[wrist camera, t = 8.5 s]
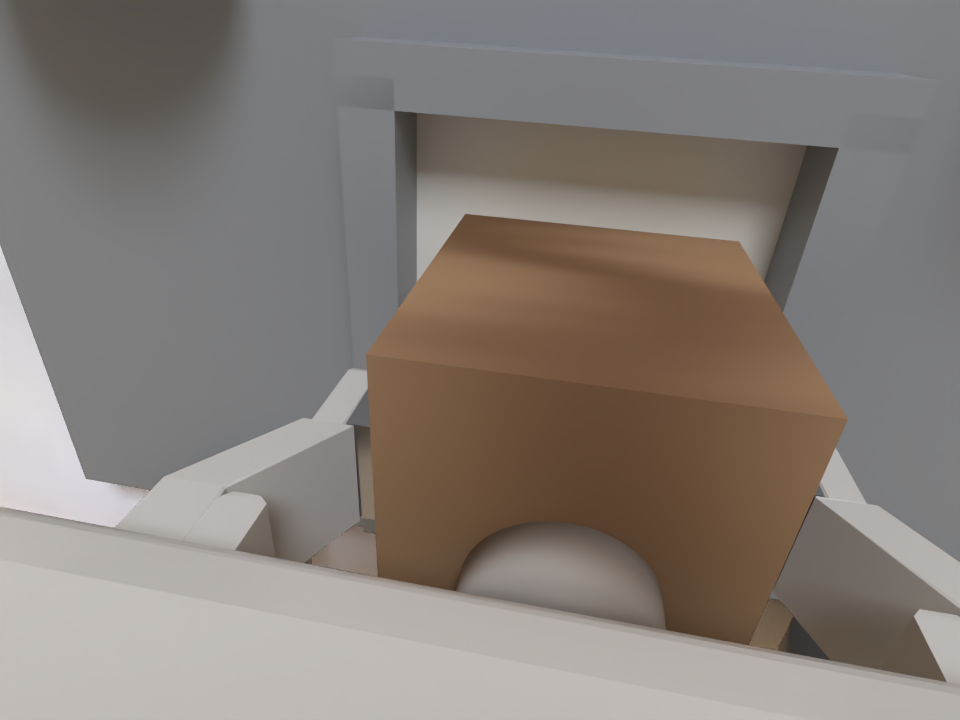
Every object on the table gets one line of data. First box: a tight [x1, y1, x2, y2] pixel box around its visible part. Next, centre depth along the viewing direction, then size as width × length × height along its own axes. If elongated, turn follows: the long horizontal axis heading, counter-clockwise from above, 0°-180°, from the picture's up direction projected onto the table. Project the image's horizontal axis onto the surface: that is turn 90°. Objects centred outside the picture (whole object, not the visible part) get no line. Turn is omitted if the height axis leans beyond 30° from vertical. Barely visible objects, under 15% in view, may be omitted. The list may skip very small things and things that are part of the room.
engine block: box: [366, 214, 848, 645], centre depth 9 cm, size 4×6×6 cm
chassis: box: [0, 0, 960, 661], centre depth 12 cm, size 28×17×5 cm, turn 87°
